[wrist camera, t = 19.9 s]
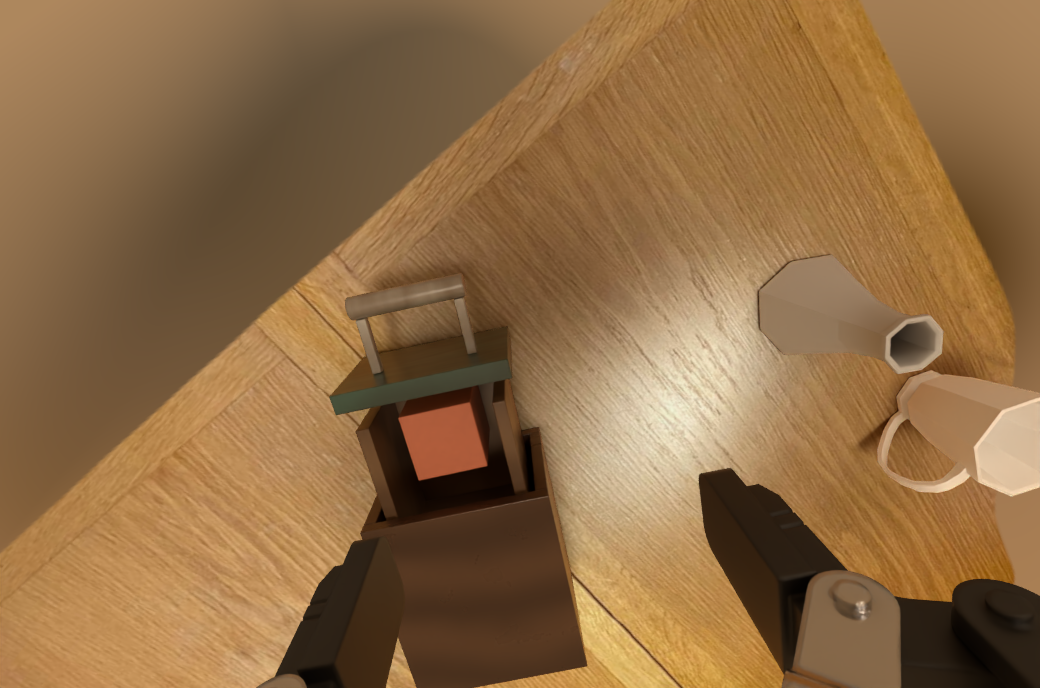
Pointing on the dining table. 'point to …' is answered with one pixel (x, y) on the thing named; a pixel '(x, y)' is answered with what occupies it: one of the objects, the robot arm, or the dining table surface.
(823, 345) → the flask
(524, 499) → the cabinet
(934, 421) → the cup
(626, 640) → the dining table surface
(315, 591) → the robot arm
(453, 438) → the block
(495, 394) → the drawer
